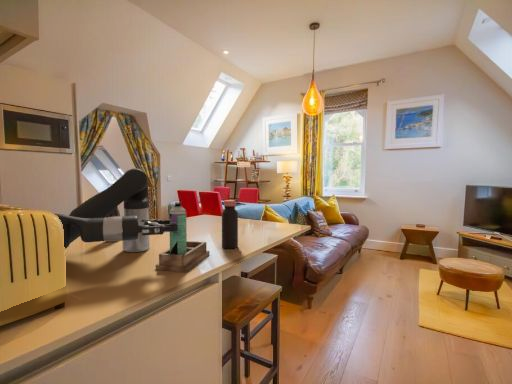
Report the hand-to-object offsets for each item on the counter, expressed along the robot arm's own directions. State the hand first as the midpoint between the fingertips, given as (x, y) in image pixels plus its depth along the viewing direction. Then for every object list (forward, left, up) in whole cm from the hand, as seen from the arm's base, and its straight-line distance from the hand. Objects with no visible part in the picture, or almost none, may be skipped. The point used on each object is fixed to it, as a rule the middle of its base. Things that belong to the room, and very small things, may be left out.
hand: (175, 225), depth 88 cm
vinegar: (+10, +27, -14) cm, 32 cm away
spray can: (0, +1, -13) cm, 13 cm away
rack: (0, +5, -14) cm, 15 cm away
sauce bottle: (-46, +25, -14) cm, 54 cm away
